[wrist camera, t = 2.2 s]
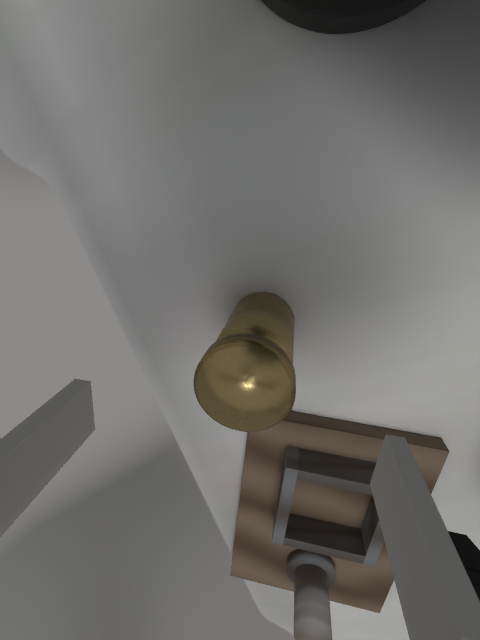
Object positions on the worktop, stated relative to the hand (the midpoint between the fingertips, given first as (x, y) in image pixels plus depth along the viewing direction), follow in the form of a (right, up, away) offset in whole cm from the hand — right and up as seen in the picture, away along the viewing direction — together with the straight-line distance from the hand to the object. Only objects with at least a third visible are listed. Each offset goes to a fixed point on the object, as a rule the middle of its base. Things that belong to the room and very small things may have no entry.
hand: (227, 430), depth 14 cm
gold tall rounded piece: (+2, +5, +12) cm, 13 cm away
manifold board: (+9, -14, +18) cm, 24 cm away
